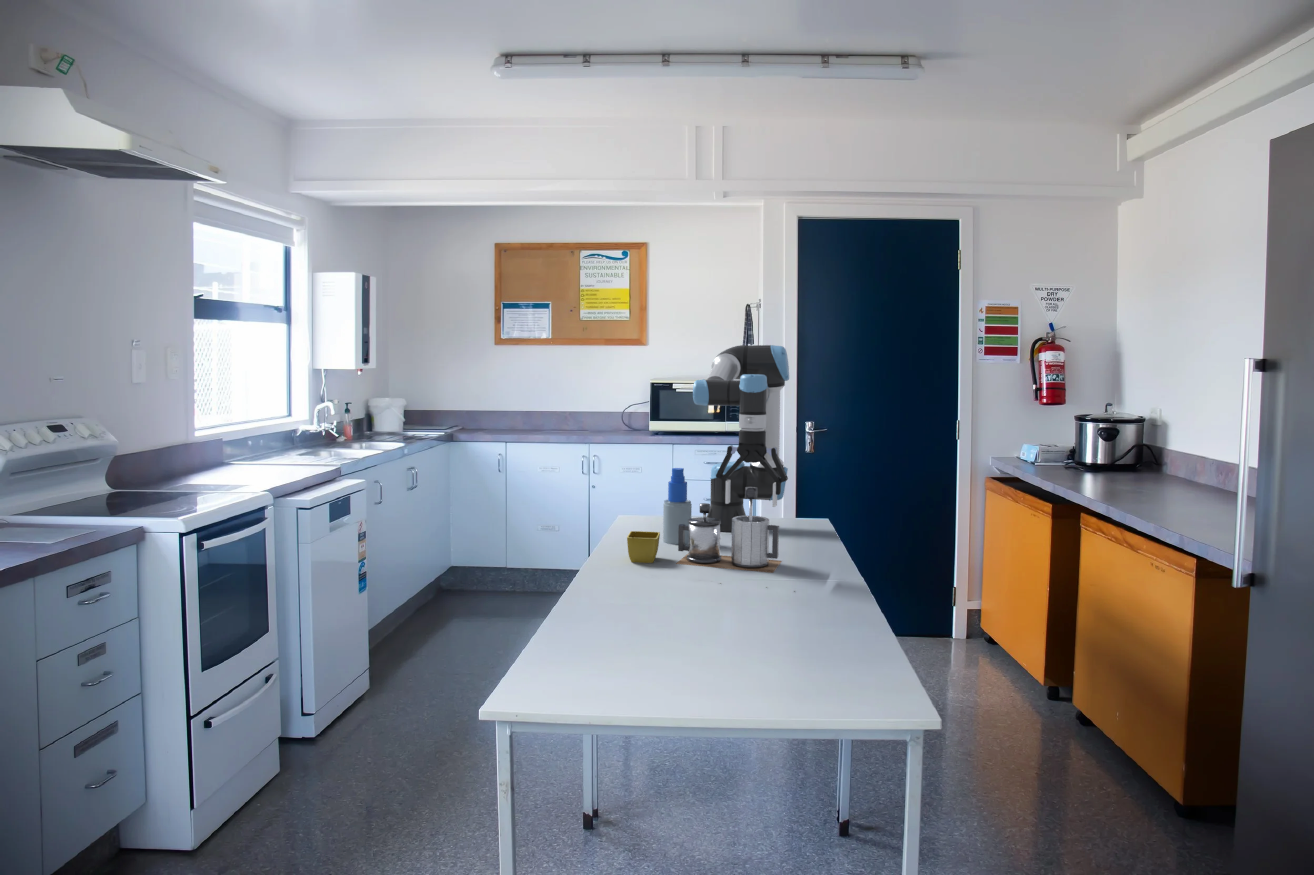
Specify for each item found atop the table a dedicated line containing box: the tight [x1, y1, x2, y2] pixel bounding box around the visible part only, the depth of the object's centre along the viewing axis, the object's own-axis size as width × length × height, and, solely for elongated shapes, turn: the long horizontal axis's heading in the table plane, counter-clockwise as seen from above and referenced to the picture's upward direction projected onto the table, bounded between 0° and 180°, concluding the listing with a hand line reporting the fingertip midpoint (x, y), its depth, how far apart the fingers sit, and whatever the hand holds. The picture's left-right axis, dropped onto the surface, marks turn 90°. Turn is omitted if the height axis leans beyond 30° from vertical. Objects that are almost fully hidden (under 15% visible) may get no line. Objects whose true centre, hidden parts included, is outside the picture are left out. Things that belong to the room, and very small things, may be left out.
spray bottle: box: [662, 467, 692, 546], centre depth 257 cm, size 9×9×25 cm
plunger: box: [745, 487, 757, 522], centre depth 229 cm, size 7×7×19 cm
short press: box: [677, 502, 721, 564], centre depth 234 cm, size 10×13×16 cm
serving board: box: [675, 552, 783, 574], centre depth 232 cm, size 14×28×2 cm, turn 71°
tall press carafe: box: [730, 515, 780, 569], centre depth 229 cm, size 10×13×13 cm
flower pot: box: [626, 530, 661, 564], centre depth 234 cm, size 9×9×9 cm
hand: (751, 504), depth 228 cm, fingers open, 13 cm apart
